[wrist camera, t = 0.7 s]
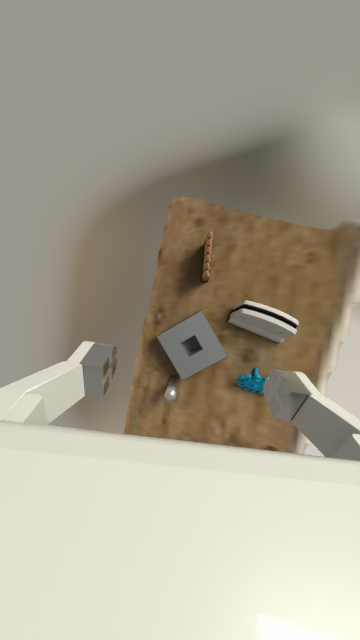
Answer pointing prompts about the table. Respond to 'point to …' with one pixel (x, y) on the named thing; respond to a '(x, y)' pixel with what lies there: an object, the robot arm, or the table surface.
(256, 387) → the gear
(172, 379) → the steel pin
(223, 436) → the table surface
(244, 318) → the hinge
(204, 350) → the pin block
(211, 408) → the table surface
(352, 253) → the table surface
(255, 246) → the table surface
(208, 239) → the ammunition clip
